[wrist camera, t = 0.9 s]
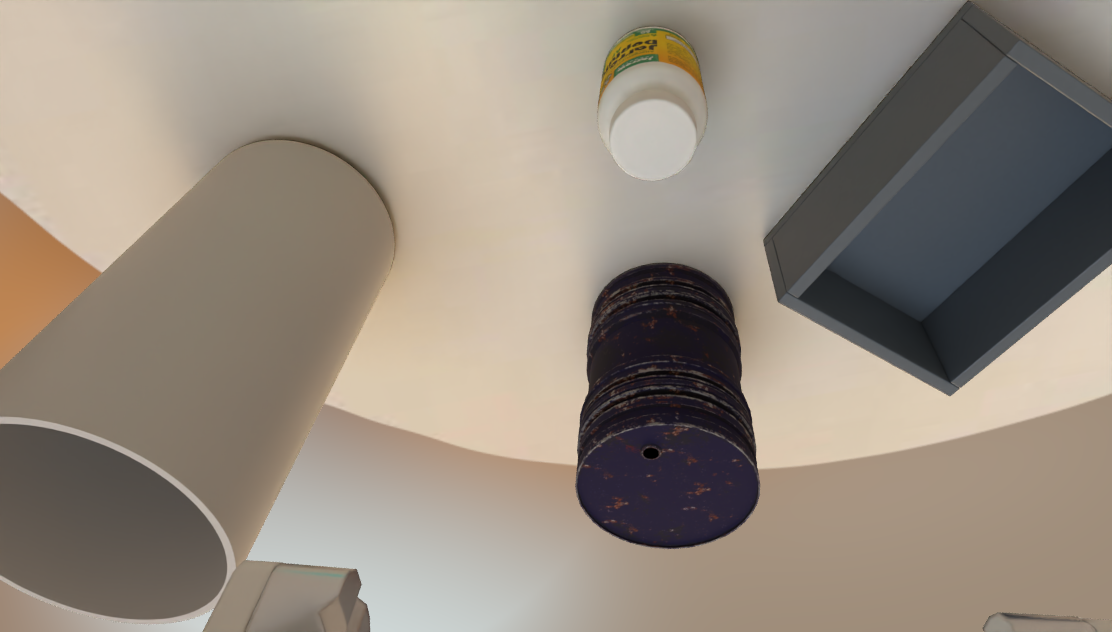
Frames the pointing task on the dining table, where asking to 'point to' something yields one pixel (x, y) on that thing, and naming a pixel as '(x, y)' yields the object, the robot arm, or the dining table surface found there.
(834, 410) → the dining table surface
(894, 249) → the box shelf
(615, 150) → the supplement bottle
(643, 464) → the dark barrel
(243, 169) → the cylinder vase
